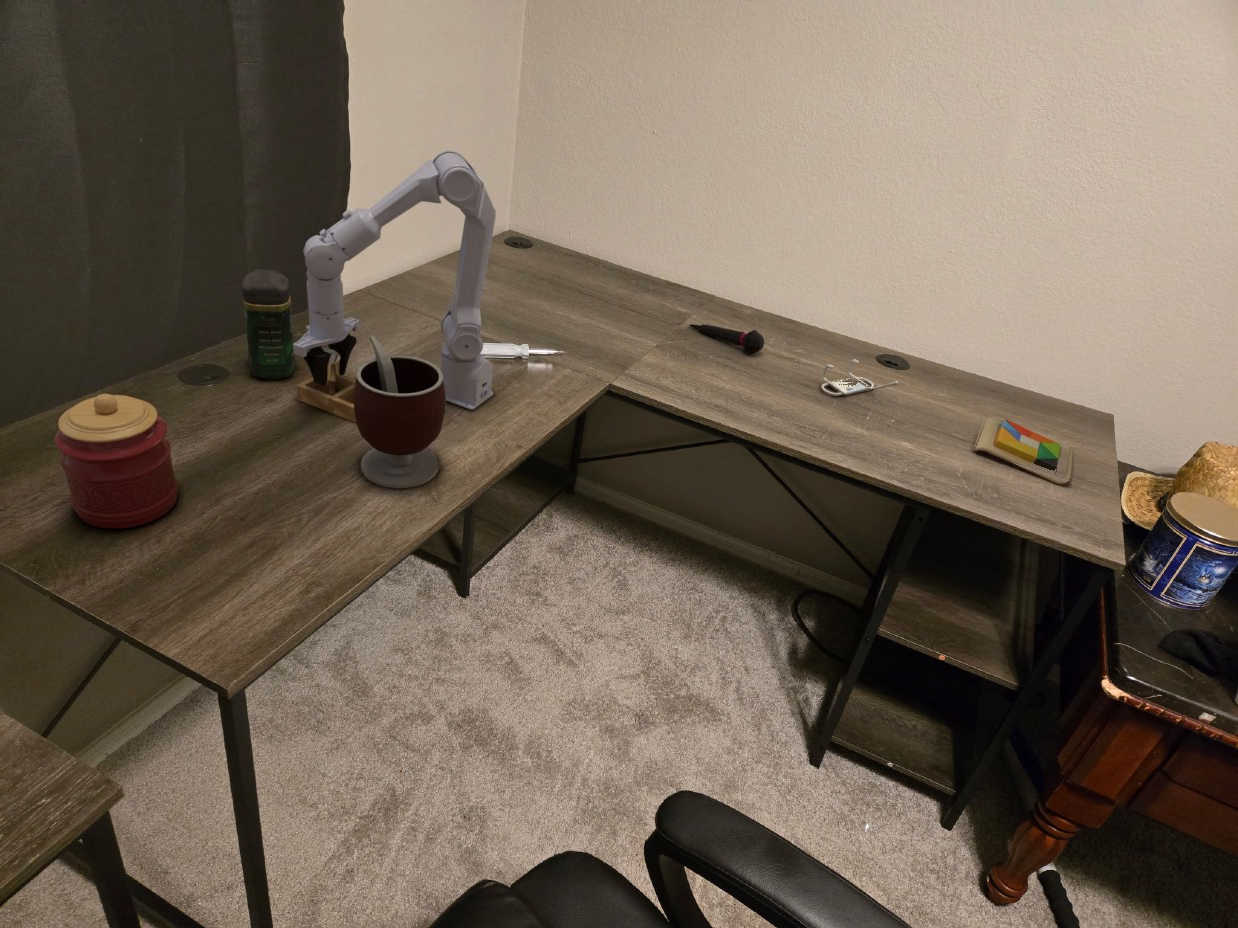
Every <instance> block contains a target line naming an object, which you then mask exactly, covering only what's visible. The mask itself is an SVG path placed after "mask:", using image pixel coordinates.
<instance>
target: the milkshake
mask: <svg viewBox="0 0 1238 928" xmlns="http://www.w3.org/2000/svg"><path fill="white" fill-rule="evenodd" d="M323 349H324V351H325V352H328V353H330V354H332V355H331V357H330V359H329V363H328V368H327V383H326V385H324V386H322V385H320V384H318V386H319V391H321V392H324V393H326V394H329V395H331V396H333V395H334V394H336V393H338V392H340V391H339V372H340V358H341V357H340V354H339V353H337V352H336V351H334V350H332V349H329V348H323Z"/></svg>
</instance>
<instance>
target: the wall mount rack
mask: <svg viewBox="0 0 1238 928" xmlns="http://www.w3.org/2000/svg"><path fill="white" fill-rule="evenodd" d="M859 362H860V361H859V360H857V359H851V360H850V363H849V366H848V369H847V374H848V376H850V375H851V376H853V377H854V378H853V377H852V378H853V379H855V378H856V379H857V380H856V379H855V380H856V381H858V380H859V381H861V382H862V383H864V384H866V386H865V385H864V384H862V383H861V382H859V381H858V383H857V384H856V385H853V386H851V385H849V387H848V385H843V384H848V383H851V382H842V381H843V380H844V379H846V380H848V379H850V378H851V376H850V377H849V378H843V379H838V380H832V381H829V380H828V379H827V378H826V374H827V371H828V368H829V369H830V370H832V369H834V365H832V364H826V365H825V366H824V369H823V372H822V376H821V378H822V380H823V381H824V382H825V383H823V384H821V386H820V388H821V390H822V391H823V392H824V393H826V394H828V395H831V396H837V397H838V396H851V395H854V394H858V393H862V392H869V391H875V390H879V389H884V388H887V387H895V386H898V384H899V382H898V381H892V382H890V383H886V384H881V385H878V386H875V385H874V384H875V383H873V382H872V381H871V380H870V379H867V378H865V377H860V376H855V375H854V374H852V372H851V369H852V367H853V364H859ZM839 380H840V381H841V382H840V381H839ZM835 381H837V382H835ZM838 381H839V382H838ZM844 381H845V380H844ZM866 382H867V383H868V384H867V383H866ZM852 383H853V382H852ZM839 384H840V385H839ZM841 384H842V385H841ZM869 384H870V385H869ZM827 386H829V387H830V388H831V389H833V390H834V391H835V392H832V391H829V390H828V389H827V388H825V387H827ZM867 386H869V387H867ZM872 389H873V390H872Z"/></svg>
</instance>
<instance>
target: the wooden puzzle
mask: <svg viewBox="0 0 1238 928" xmlns="http://www.w3.org/2000/svg"><path fill="white" fill-rule="evenodd" d="M986 418H987V420H986V423H985V426H984V429H983V431H982V434H981V436H980V438H979V435H980V432H981V429H982V426H983V423H984V420H982V423H981V426H980V428H979V432H978V434H977V437H976V441H975V444H974V447H973V451H974V452H981V451H982V452H986V453H988V454H990V455H992V456H995V457H997V458H999V457H1000V458H999V459H1001V458H1002V459H1001V460H1003V459H1005V460H1004V461H1006V460H1007V461H1006V462H1008V461H1010V462H1014V463H1016V464H1019V465H1023V466H1025V467H1029V468H1030V467H1031V466H1028V465H1030V464H1032V463H1030V462H1033V463H1034V464H1036V465H1039V466H1041V467H1044V468H1047V469H1049V470H1053V471H1054V470H1055V469H1056V472H1057V465H1058V460H1059V457H1060V458H1061V454H1062V450H1063V447H1064V446H1061V442H1057V441H1056V440H1053V439H1050V438H1048V437H1046V436H1043V435H1041V434H1039V433H1037V432H1034V431H1032V430H1030V429H1028V428H1026V427H1025V426H1022V425H1020V424H1018V423H1015V422H1014V421H1011V420H1009V419H1007V418H1005V419H1003V420H1002V419H1001V418H998V417H995V416H989V417H986ZM978 438H979V442H978V443H977V441H978ZM976 443H977V446H976ZM975 446H976V448H977V449H978V450H980V451H978V450H976V449H975ZM1069 447H1070V449H1069V450H1070V452H1069V458H1068V463H1067V464H1068V465H1067V469H1066V475H1065V477H1066V478H1065V479H1066V480H1069V481H1070V480H1071V478H1072V471H1073V470H1072V469H1073V461H1074V449H1075V448H1074V447H1073V446H1069ZM1010 462H1009V463H1010ZM1027 464H1028V465H1027ZM1034 464H1032V465H1034ZM1013 465H1014V466H1016V465H1015V464H1013ZM1039 466H1038V467H1039ZM1018 467H1019V468H1020V469H1023V470H1025V471H1027V472H1030V473H1032V474H1034V475H1036V476H1038V477H1040V478H1043V479H1045V480H1047V481H1050V482H1052V483H1054V484H1057V485H1065V484H1066V483H1063V482H1061V481H1059V480H1056V479H1053V478H1050V477H1047V476H1044V475H1041V474H1039V473H1036V472H1033V471H1031V470H1028V469H1025V468H1023V467H1020V466H1018ZM1056 472H1055V475H1054V477H1056Z"/></svg>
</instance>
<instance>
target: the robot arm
mask: <svg viewBox="0 0 1238 928" xmlns="http://www.w3.org/2000/svg"><path fill="white" fill-rule="evenodd" d="M440 197H443V198H444V200H445V201H447V202H448V203H450V204H451V205H452V206H454V207H456V208H458V209H459V210H460V212H462V214H463V215H464V222H463V227H462V234H461V235H462V236H461V241H460V248H459V255H458V262H457V269H456V273H455V280H454V281H455V282H454V289H453V294H452V299H451V300H450V302H449V303H448V307H447V311H446V313H445V314H444V316H443V317H442V319H441V321H440V331H441V333H442V335H443V336H444V339H445V340H444V342H443V344H442V346H441V348H440V368H439V369H440V370H441V372H442V374H443V383H444V388H445V396H446V402H449V403H451V404H454V405H457V406H459V407H462V408H464V409H466V410H470V411H473V410H475V409H476V408H477V407H479V406H480V405H481V404H483V403H484V402H485V401H486V400H488V399H489V398H491V397H492V396H494V391H492V390H493V388H492V387H493V376H494V365H493V363H492V361H490V360H489V359H487V358H485V357H484V356H483V355H482V351H483V349H484V341H483V337H482V334H481V333H482V332H481V330H482V318H481V317H482V316H481V305H482V300H483V299H482V298H483V292H484V287H485V281H486V276H487V269H488V263H489V258H490V252H491V246H492V241H493V236H494V229H495V223H496V217H497V212H496V208H495V207H494V204H493V202H492V199H491V197H490V195H489V193H488V191H487V188H486V186H485V182H484V181H483V180H482V179H481V178H480V176H479V175H478V172H477V171H476V170H475V168H474V167H473V166H472V165H471V164H470V162H468V160H467V159H466V158H465V157H464V156H463V155H462V154H461V153H459V152H457V151H454V150H444V151H441V152H440V153H438V154H436V156H434V158H433V159H429V160H427V161H424V162H423V164H421V165H420V166H419V167H418V168H417V169H416V170H415V171H414V172H412V173H411V175H409V176H408V177H407V178H405V179H404V180H403V181H402V182H400V184H398V185H397V186H395V187H394V188H393V189H392V190H391V191H389V192H388V193H387V194H385V195H384V196H383V197H382V198H381V199H379V200H378V201H377V202H376V203H374V205H372V206H371V207H369V208H367V209H366V208H355V209H354V210H353V211H351V210H350V209H346V210H345V211H344V212H343V213H342V217H343V218H341V219H340V220H338V221H337V222H336V223H335V224H333V225H332V226H331V227H329V228H328V229H325V228H323V229H322V230H320V231H319V235H318V234H315V235H313V236H311V237H310V238H309V239H307V241H306V242H305V245H304V248H303V251H302V252H303V256H304V262H305V263H304V264H305V267H306V268H307V270H306V278H307V280H306V295H307V296H306V297H307V309H308V325H306V326H305V330H306V331H307V332H305V333H304V334H303V335H302V336H301V338H299V340H297V341H296V342H293V343H294V344H293V350H294V356H298V357H300V358H302V359H303V360H304V362H305V363H306V364H307V366H308V369H309V371H310V373H311V376H312V377H313V379H314V382H315V383H317V384H320V385H322V386H324V385H326V383H327V368H328V363H329V359H330V357H331V355H332V354H330V353H328V352H325V351H324V349H325V348H323V347H322V346H327V347H328V349H332V350H334V351H336V352H337V353H339V354H340V357H341V358H340V372H339V375H342V376H343V375H344V376H345V375H346V370H347V366H348V362H349V359H350V356H351V354H352V351H353V350H354V348H355V346H356V345H357V343H358V341H357V337H356V336H353V335H351V332H352V331H353V332H359V331H360V320H359V319H357V318H354V317H351V316H350V317H347V318H345V305H344V304H345V303H344V284H343V281H342V273H343V271H344V268H345V264H346V262H349V261H351V260H352V259H353V258H355V257H357V256H358V255H360V253H362V252H364V251H365V250H366V249H367V248H368V247H370V246H371V245H373V244H374V243H375V242H377V241H379V240H380V239H381V236H382V228H383V227H384V226H386V225H387V224H389V223H391V222H392V221H394V220H395V219H396V218H398V217H400V216H402V215H403V214H404V213H406V212H407V211H409V210H411V209H412V208H414V207H415V206H416V205H418V204H420V203H422V202H425V203H431V204H442V200H441V198H440Z"/></svg>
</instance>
